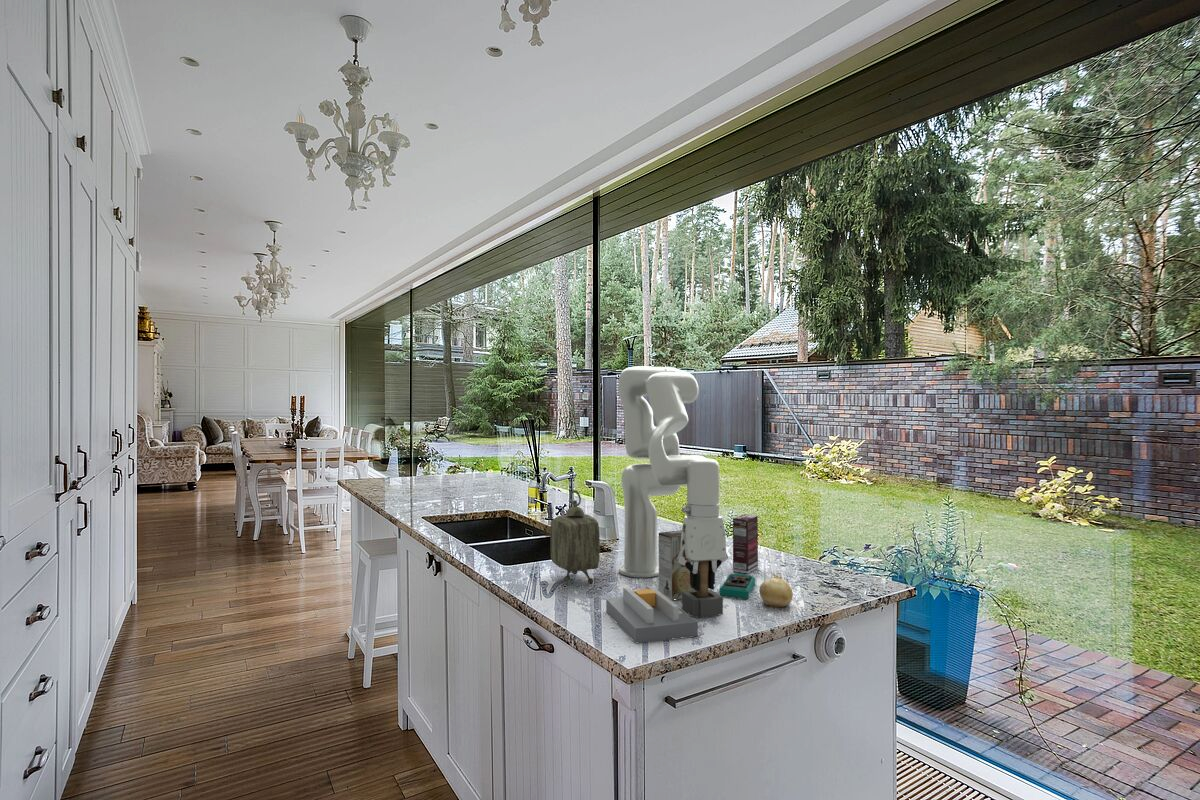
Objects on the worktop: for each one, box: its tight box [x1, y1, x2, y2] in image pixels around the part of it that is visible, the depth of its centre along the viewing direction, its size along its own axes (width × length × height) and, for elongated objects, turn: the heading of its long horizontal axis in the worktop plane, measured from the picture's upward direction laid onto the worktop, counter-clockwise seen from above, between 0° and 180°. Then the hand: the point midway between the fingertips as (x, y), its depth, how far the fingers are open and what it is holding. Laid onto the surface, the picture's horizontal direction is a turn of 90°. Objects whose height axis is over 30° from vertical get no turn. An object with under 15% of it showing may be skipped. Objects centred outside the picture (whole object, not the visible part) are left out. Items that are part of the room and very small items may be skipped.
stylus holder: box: [681, 589, 724, 619], centre depth 146 cm, size 8×8×4 cm
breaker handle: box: [633, 588, 655, 606], centre depth 141 cm, size 3×4×3 cm
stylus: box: [696, 561, 709, 598], centre depth 146 cm, size 3×3×14 cm
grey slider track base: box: [605, 584, 699, 643], centre depth 138 cm, size 20×14×6 cm
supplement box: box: [732, 514, 759, 575], centre depth 183 cm, size 9×5×16 cm, turn 144°
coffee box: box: [658, 529, 694, 601], centre depth 159 cm, size 9×6×16 cm
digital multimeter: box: [718, 573, 756, 600], centre depth 164 cm, size 7×15×3 cm, turn 159°
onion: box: [758, 573, 794, 608], centre depth 152 cm, size 8×8×7 cm
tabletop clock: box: [549, 489, 601, 585], centre depth 171 cm, size 14×9×25 cm, turn 26°
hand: (702, 587), depth 146 cm, fingers open, 3 cm apart
